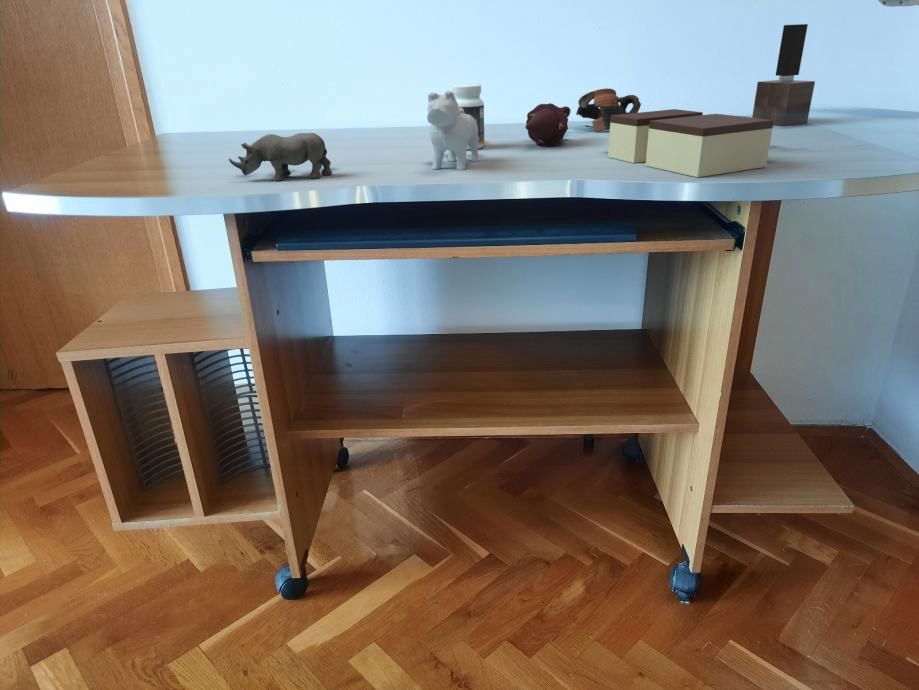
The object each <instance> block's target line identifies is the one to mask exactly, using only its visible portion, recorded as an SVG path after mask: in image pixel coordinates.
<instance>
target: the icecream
mask: <svg viewBox="0 0 919 690" xmlns="http://www.w3.org/2000/svg"><path fill="white" fill-rule="evenodd" d="M570 115H571V108H570V107H569V106H567V105H565V106H561V107H559V106H557V105H555V104H554V103H551V102H550V103H539V104H538V105H536V106H535V107H534V108H533V109H531V110H530V111H529V112H528V113H527V114H526V117H527V118H526V122H525V129H526V130H527V134H528V138H529V139H530V140H531V141H532V142H534V143H535V144H537V145H538V146H539V147H554V146H555V145H557V143H558V142H560V141H562V140H563V139H564V137H565V134H566V133H567V131H568V130H569V126H568V122H569V116H570Z"/></svg>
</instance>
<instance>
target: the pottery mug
mask: <svg viewBox="0 0 919 690" xmlns="http://www.w3.org/2000/svg"><path fill="white" fill-rule="evenodd" d="M591 101H593V103H591ZM577 103H578V107H577V110H576V112H575V115H576V116H579V117H581V118H583V119H590V120H592V121H591V122H592V127H593V131H594V133H597V132H598V133H599V132H601V131H605V130H610V123H611V122H610V120H611V115H620V114H630V113H639V112H640V110H641V104H642V103H641V101H640V98H639V97H638V96H637V95H635V94H628V95H624V96H621V97H619V96H618V95H617V91H616V90H615V89H613V88H600V89H596V90H593V91H589V92H587V93H585V94H583V95H582V96H580V98H579V99H578V102H577ZM630 104H632V108H631V109H630V110H629V111H628V112H627V108H628V106H629V105H630Z"/></svg>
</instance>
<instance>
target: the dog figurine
mask: <svg viewBox="0 0 919 690" xmlns="http://www.w3.org/2000/svg"><path fill="white" fill-rule="evenodd" d="M427 102H428V104H427V116H426V119H427V122H428V124H430V128H429V129H430V130H429V138H430V142H431V145H432V147H433V159H432V166H431V168H432V170H441V169H442V164H443V160H444V155H445V153H446V151H448V154H447V155H448V156H447V161H448V162H456V170H459V171H463V170H466V169H467V168H466V164H467V163H466V160H467V150H466V148H467V146H469V147H470V153H471V161H472V162H479V149H478V127H477V123H476V122H475V120H474V118H473V117H472V116H471V115H468V114H465V113H464V109H462V108H460V109H458V103H457V101H456V99H455V96H454V94H453V91H451V90H446V91H444V94H438V93H436V92H432V91H431V92H429V93H428V95H427Z"/></svg>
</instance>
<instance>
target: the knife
mask: <svg viewBox="0 0 919 690" xmlns="http://www.w3.org/2000/svg"><path fill="white" fill-rule="evenodd" d="M808 27H809V24H808V23H803V24H802V23H801V24H799V23H798V24H784V25H783V28H782V34H781V40H780V46H779V52H778V59H777V64H776V70H775V76H777V77H779V78H778V80H779V82H790V81H793V80H795V76H799V75H800V71H801V66H802V65H801V64H802V58H803V53H804V49H805V43H806V37H807V31H808Z"/></svg>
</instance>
